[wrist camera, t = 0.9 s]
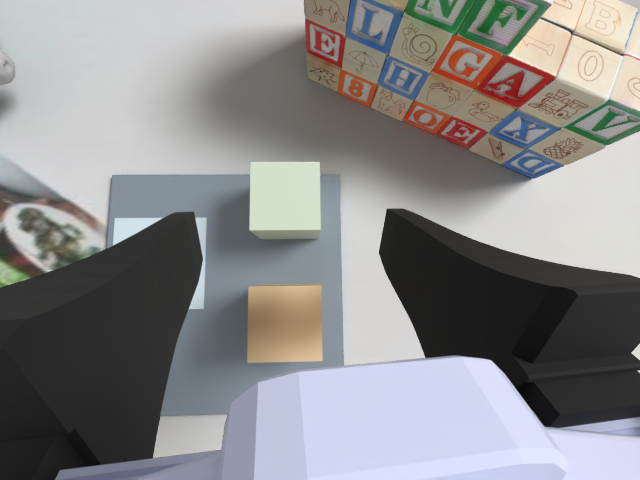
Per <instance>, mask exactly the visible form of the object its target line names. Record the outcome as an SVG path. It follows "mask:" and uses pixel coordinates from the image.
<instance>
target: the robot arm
mask: <svg viewBox="0 0 640 480" xmlns="http://www.w3.org/2000/svg"><path fill="white" fill-rule="evenodd" d="M379 254H380V257H381V260H382V264H383V266H384V269H385V272H386V274H387V276H388V278H389V280H390V282H391V284H392V286H393V288H394V289H395V291H396V293H397V295H398V297H399V299H400V301H401V303H402V304H403V306H404V308H405V310H406V312H407V314H408V316H409V318H410V320H411V322H412V324H413V326H414V329H415V331H416V334H417V336H418V339H419V341H420V344H421V346H422V349H423V352H424V355H425V357H426V358H422V359H411V360H400V361H389V362H378V363H367V364H357V365H346V366H335V367H324V368H313V369H302V370H296V371H292V372H288V373H284V374H280V375H276V376H272V377H269V378H265V379H262V380H261V381H259V382H258V383H257V384H255V385H254V386H253V387H251V388H250V389H248V390H247V391H246V392H244V393H243V394H242V395H240V396H239V397H238V398H236V399H235V400H233V401H232V402H231V404H230V407H229V411H228V414H227V418H226V422H225V426H224V434H223V441H222V449H221V450H216V451H208V452H200V453H192V454H184V455H176V456H168V457H160V458H153V453H154V447H155V441H156V435H157V430H158V425H159V420H160V415H161V409H162V404H163V399H164V395H165V390H166V386H167V381H168V376H169V372H170V368H171V364H172V359H173V355H174V351H175V347H176V343H177V340H178V337H179V334H180V331H181V328H182V325H183V323H184V320H185V317H186V315H187V312H188V309H189V307H190V304H191V301H192V299H193V296H194V293H195V290H196V288H197V285H198V282H199V278H200V273H201V268H202V262H203V255H202V250H201V245H200V240H199V235H198V229H197V224H196V219H195V214H194V212H175V213H172V214H170V215H168V216H166V217H164V218H162V219H161V220H159V221H157V222H155V223H154V224H152V225H150V226H148V227H147V228H145V229H143V230H141V231H140V232H138V233H136V234H134V235H132V236H130V237H128V238H127V239H125V240H123V241H121V242H119V243H117V244H115V245H113V246H111V247H109V248H107V249H105V250H103V251H101V252H99V253H96V254H94V255H92V256H90V257H87V258H85V259H82V260H80V261H78V262H75V263H73V264H70V265H68V266H65V267H62V268H59V269H56V270H53V271H50V272H48V273H45V274H42V275H39V276H36V277H33V278H30V279H27V280H24V281H21V282H17V283H14V284H11V285H7V286H4V287H1V288H0V480H640V373H639V372H638V371H637V370H640V360H639V359H637V358H636V357H635V356H634V355H633V354H631V352H632V351H633V350H634V349H635V348H636V347H637V346H638V345H639V343H640V278H637V277H634V276H631V275H626V274H619V273H612V272H605V271H598V270H591V269H584V268H578V267H573V266H568V265H562V264H557V263H552V262H548V261H543V260H539V259H534V258H531V257H527V256H523V255H519V254H516V253H512V252H508V251H505V250H502V249H499V248H496V247H493V246H490V245H487V244H484V243H481V242H478V241H476V240H473V239H471V238H468V237H466V236H463V235H461V234H459V233H456V232H454V231H452V230H449V229H447V228H445V227H443V226H441V225H439V224H437V223H434V222H432V221H430V220H428V219H426V218H424V217H422V216H420V215H418V214H415V213H413V212H411V211H408V210H405V209H387V211H386V217H385V222H384V228H383V233H382V239H381V244H380V249H379Z"/></svg>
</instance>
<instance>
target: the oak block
mask: <svg viewBox="0 0 640 480" xmlns="http://www.w3.org/2000/svg"><path fill="white" fill-rule="evenodd" d="M306 361H323V352H322V285H320V284H269V285H255V286H249V287H248V348H247V363H265V362H306Z"/></svg>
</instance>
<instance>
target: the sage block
mask: <svg viewBox="0 0 640 480" xmlns="http://www.w3.org/2000/svg"><path fill="white" fill-rule="evenodd" d="M249 230H250V231H251V232H252V233H254V234H255V235H256V236H257V237H259V238H260V239H319V235H320V231H321V211H320V162H251V164H250V225H249Z"/></svg>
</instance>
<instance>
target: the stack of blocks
mask: <svg viewBox="0 0 640 480" xmlns="http://www.w3.org/2000/svg"><path fill="white" fill-rule="evenodd" d="M304 13H305V16H306V17H305V28H306V49H307V53H306V66H307V78H308V79H310V80H312V81H315V82H317V83H319V84H321V85H323V86H326V87H328V88H330V89H332V90H334V91H337V92H338V93H339V94H341V95H343V96H346V97H348V98H350V99H352V100H354V101H357V102H359V103H361V104H363V105H366V106H368V107H371V108H372V109H374V110H377V111H378V112H381V113H383V114H385V115H387V116H390V117H392V118H394V119H397V120H399V121H405V122H407V123H408V124H412V125H413V126H416V127H418V128H420V129H422V130H425V131H427V132H429V133H432V134H436V135H438V136H440V137H442V138H444V139H446V140H448V141H451V142H453V143H456V144H458V145H460V146H462V147H465V148H468V150H469V151H471V152H473V153H476V154H478V155H480V156H482V157H485V158H487V159H489V160H491V161H493V162H496V163H498V164H502V165H503V166H505V167H507V168H510V169H512V170H514V171H516V172H519V173H521V174H523V175H526V176H528V177H530V178H533V179H534V178H537V177H539V176H542V175H544V174H546V173H549V172H551V171H553V170H555V169H558V168H560V167H563V166H564V165H567V164H570V163H572V162H575V161H577V160H579V159H582V158H584V157H586V156H588V155H591V154H593V153H595V152H597V151H600V150H602V149H604V148H605V147H606V145H609V144H612V143H614V142H616V141H619V140H621V139H623V138H625V137H627V136H629V135H632V134H634V133H636V132H638V131H640V12H638V10H637V9H636V8H635V7H632V6H630V5H627V4H625V3H623V2H620V1H618V0H304Z"/></svg>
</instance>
